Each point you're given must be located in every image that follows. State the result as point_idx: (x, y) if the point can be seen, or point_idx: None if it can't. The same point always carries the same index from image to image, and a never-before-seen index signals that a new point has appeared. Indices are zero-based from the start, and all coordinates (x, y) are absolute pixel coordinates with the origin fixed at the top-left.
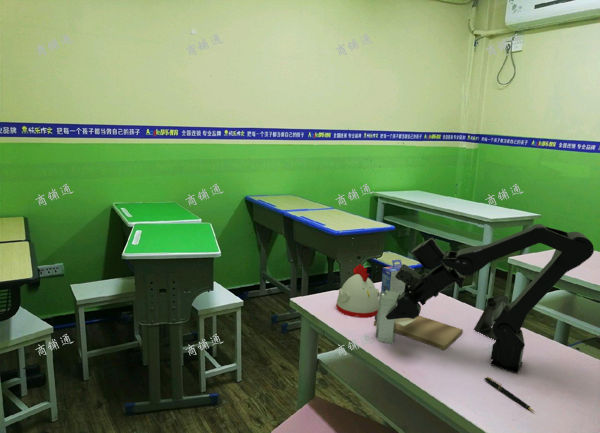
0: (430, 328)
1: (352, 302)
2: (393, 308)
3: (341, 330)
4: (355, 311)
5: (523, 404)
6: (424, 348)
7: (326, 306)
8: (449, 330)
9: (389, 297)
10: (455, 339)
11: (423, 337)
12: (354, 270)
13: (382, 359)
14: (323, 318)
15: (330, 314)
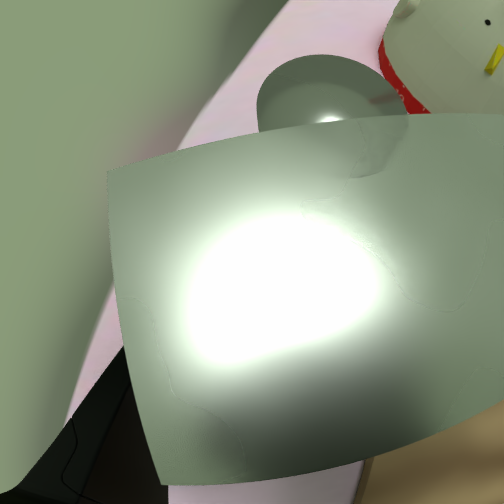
0: (484, 432)
1: (409, 36)
2: (100, 423)
3: (228, 99)
4: (400, 75)
5: None
6: (309, 481)
7: (376, 6)
8: (493, 483)
9: (195, 316)
10: None
11: (382, 461)
12: None
13: (90, 358)
14: (282, 21)
15: (333, 25)
